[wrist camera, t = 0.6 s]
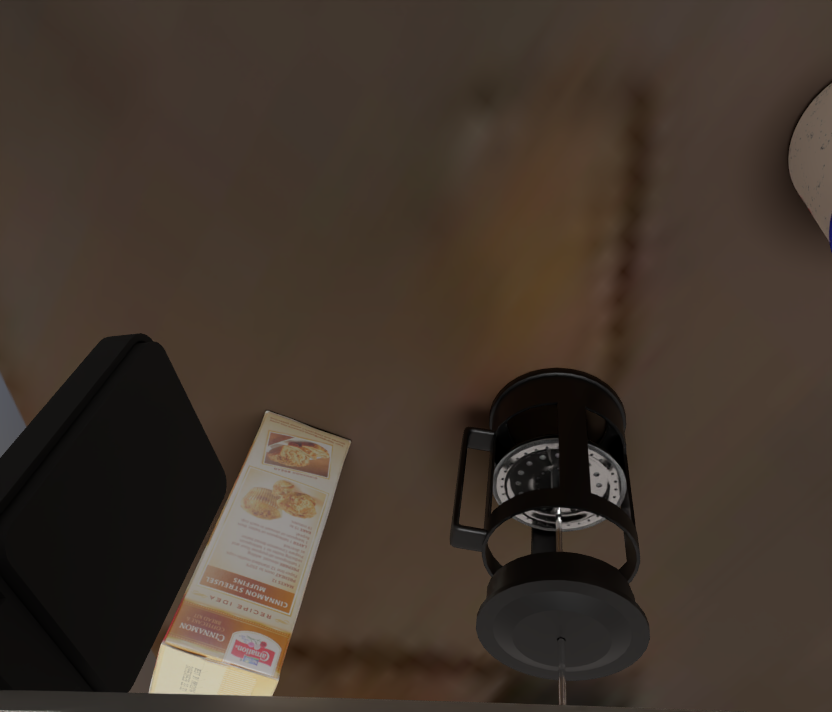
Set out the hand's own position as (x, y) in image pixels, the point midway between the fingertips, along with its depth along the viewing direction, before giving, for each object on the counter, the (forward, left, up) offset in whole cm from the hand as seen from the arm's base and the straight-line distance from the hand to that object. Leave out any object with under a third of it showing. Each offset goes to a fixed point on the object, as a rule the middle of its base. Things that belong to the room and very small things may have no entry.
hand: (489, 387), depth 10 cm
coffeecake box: (+16, -38, -33) cm, 53 cm away
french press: (+23, -17, -33) cm, 44 cm away
